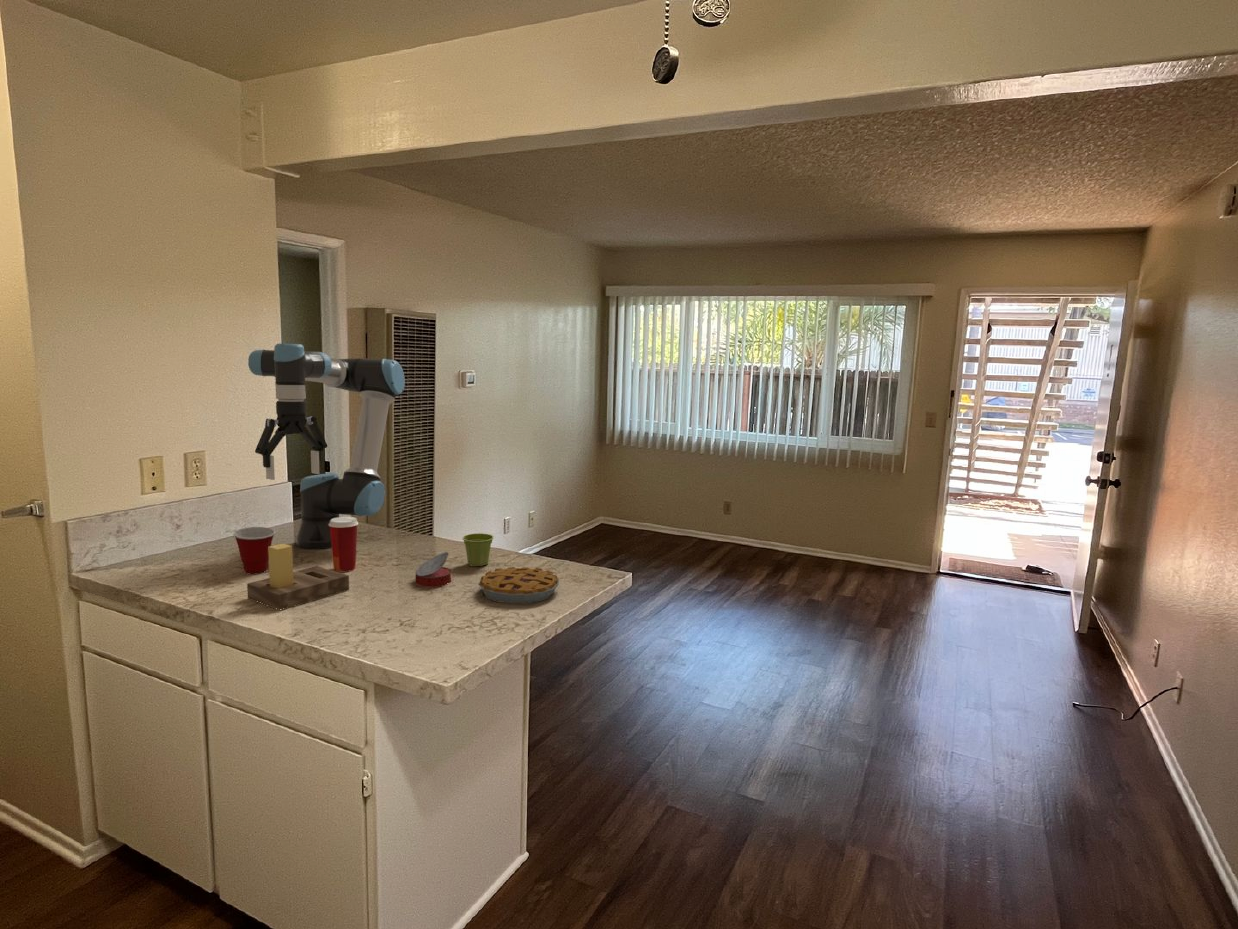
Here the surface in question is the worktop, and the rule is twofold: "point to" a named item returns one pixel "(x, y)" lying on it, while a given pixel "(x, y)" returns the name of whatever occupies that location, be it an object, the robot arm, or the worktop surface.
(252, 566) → the plastic cup
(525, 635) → the worktop surface
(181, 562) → the worktop surface
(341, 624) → the worktop surface
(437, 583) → the canned food
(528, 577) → the pie
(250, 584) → the socket block
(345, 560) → the coffee cup
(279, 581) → the square peg
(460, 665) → the worktop surface
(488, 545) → the plant pot
